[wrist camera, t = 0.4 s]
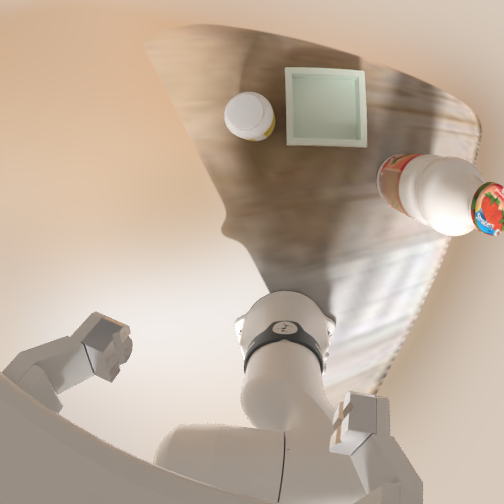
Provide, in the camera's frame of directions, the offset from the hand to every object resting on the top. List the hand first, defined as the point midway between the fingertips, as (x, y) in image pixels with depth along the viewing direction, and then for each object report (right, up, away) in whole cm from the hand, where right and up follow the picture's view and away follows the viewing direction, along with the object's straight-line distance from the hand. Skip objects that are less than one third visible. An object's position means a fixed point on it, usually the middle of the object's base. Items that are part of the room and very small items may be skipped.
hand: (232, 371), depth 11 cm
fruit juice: (+26, +16, +38) cm, 49 cm away
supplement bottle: (+1, +25, +38) cm, 46 cm away
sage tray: (+12, +27, +36) cm, 47 cm away
